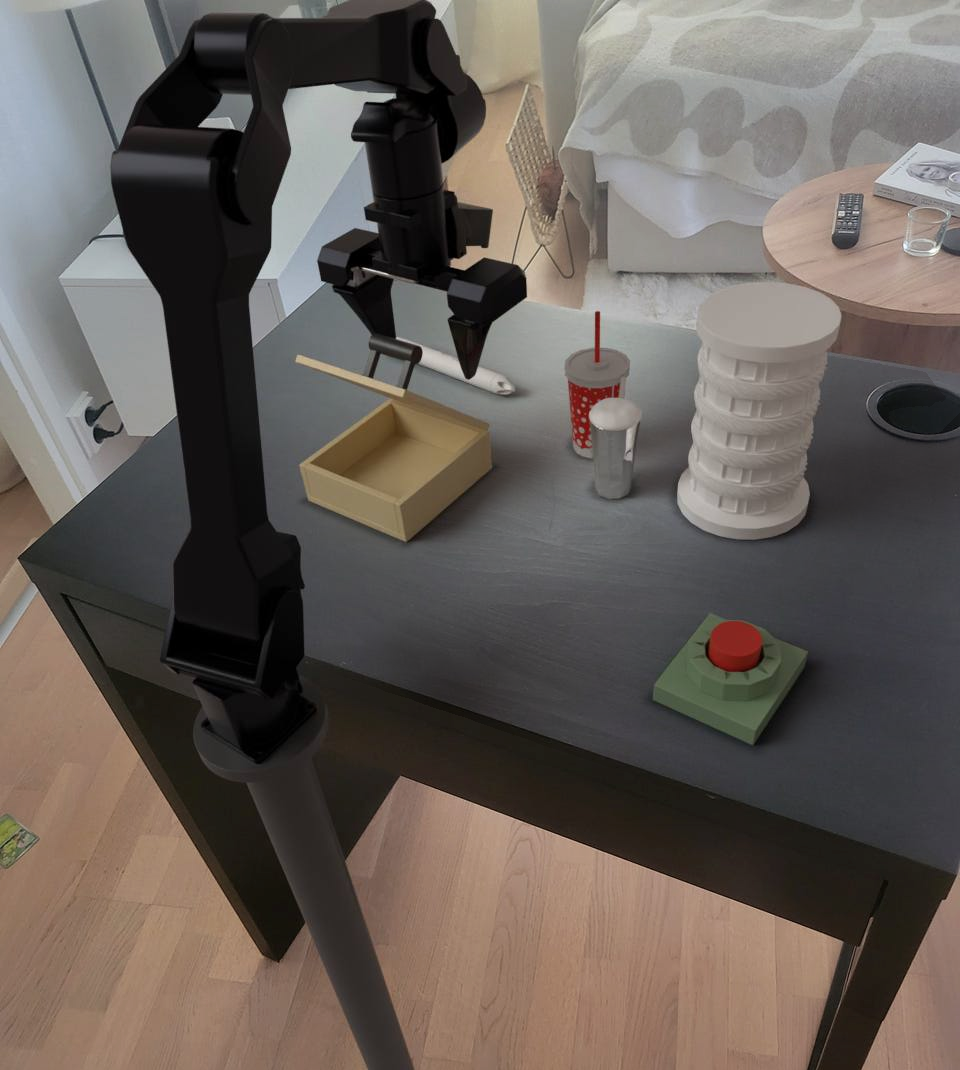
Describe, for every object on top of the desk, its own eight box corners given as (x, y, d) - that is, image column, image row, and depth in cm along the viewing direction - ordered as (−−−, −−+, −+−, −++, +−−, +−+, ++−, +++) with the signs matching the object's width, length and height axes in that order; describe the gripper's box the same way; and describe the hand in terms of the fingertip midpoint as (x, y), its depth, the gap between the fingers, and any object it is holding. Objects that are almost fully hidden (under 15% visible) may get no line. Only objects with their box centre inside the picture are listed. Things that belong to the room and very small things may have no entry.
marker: (522, 394, 102) (521, 375, 101) (509, 403, 101) (508, 383, 100) (403, 350, 111) (400, 331, 110) (391, 357, 110) (388, 338, 109)
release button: (745, 680, 67) (748, 663, 66) (699, 660, 69) (701, 643, 68) (767, 649, 69) (771, 632, 68) (722, 631, 71) (724, 613, 69)
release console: (753, 745, 67) (759, 713, 64) (652, 700, 71) (654, 667, 68) (804, 666, 72) (812, 634, 69) (708, 627, 75) (712, 595, 73)
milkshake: (644, 473, 91) (649, 379, 83) (631, 506, 87) (635, 411, 80) (597, 467, 92) (598, 374, 85) (583, 500, 88) (583, 405, 81)
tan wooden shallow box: (406, 542, 86) (399, 505, 83) (308, 500, 92) (298, 464, 89) (492, 467, 93) (489, 431, 90) (396, 433, 99) (390, 397, 96)
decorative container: (835, 507, 85) (880, 317, 72) (735, 557, 81) (764, 366, 68) (746, 449, 92) (772, 267, 79) (650, 492, 88) (662, 308, 76)
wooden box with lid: (402, 397, 78) (421, 340, 77) (294, 361, 83) (310, 307, 83) (488, 431, 90) (504, 381, 89) (388, 397, 96) (403, 350, 95)
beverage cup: (607, 422, 97) (609, 290, 87) (639, 451, 93) (645, 316, 83) (554, 440, 96) (551, 308, 86) (584, 470, 92) (584, 335, 82)
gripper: (561, 169, 75) (564, 349, 86) (383, 139, 84) (406, 307, 95) (479, 220, 69) (493, 407, 80) (296, 182, 78) (332, 356, 89)
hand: (430, 365), depth 86 cm, fingers open, 9 cm apart
